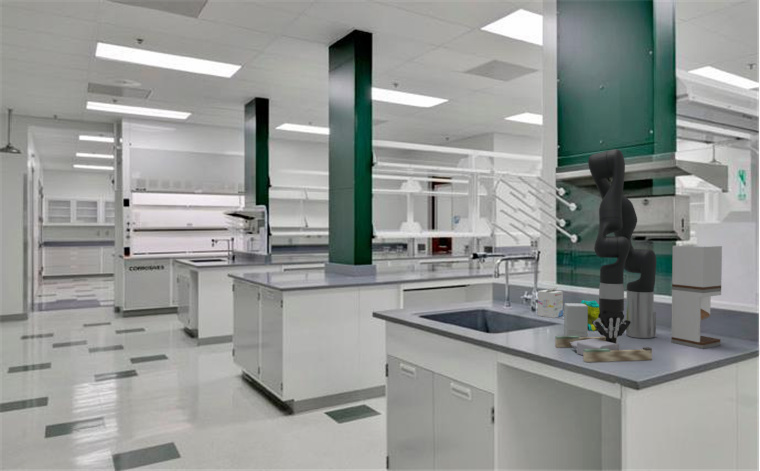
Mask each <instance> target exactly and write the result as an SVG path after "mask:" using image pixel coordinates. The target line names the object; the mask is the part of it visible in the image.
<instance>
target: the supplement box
mask: <svg viewBox="0 0 760 471" xmlns="http://www.w3.org/2000/svg"><path fill="white" fill-rule="evenodd" d="M563 303H564V304H563V306H564V307H563V336H579V337H588V333H589V332H588V331H589V330H588V306H586V305H585V304H580V303H577V302H575V303H574V302H573V303H570V302H566V303H565V302H563Z"/></svg>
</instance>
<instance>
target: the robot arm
mask: <svg viewBox="0 0 760 471" xmlns="http://www.w3.org/2000/svg"><path fill="white" fill-rule="evenodd" d="M625 162H626V161H625V157H624V155H623V152H622V151H621V150H620V149H617V148H615V149H610V150H606V151H603V152H598V153H593V154H591V155H589V157H588V161H587V163H588V168H589V169H588V170H589V172H590V175H591V177H592V179H593V181H594V183H595V185H596V188H597V190H598V192H599V195H600V197H601V202H600V204H599V208H598V213H599V214H598V219H599V225H598V227H599V228H598V234H597V236H596V240H595V243H594V248H593V249H594V253H595V255H596V256H597V257H599V258H603V259H604V258H609V259H610V258H611V259H615V258H616V261H615V262H613V263H609V264H604V265H601V266H600V268H599V269H600V271H599V288H598V304H599V311H600V313H599V315H598V319H596V320H595V321H594V320H593V321H592V324H593V325H594V326H595V328H596V331H597V332H598V333H599V334H600V335H601V336H602V337H606V341H607V342H611V343H616V338H617V339H618V337H621V336H623V335H624V333H625V336H627V337H632V338H636V339H637V338H638V339H651V338H656V336H657V331H656V329H657V312H656V311H655V310H654V306H655V305H654V296H655V295H654V293H655V292H654V291H655V284H656V270H657V257H656V253H655V251H654V250H652V249H647V248H646V249H645V248H634V247H633V243H632V236H633V234H634V232H635V229H636V227H637V224H638V216H637V213H636V210H635V207H634V204H633V203H632V201H631V200H630V199H629V198H628V197H627V196H625V195H624V194H623V191H624V184H625V183H624V182H625V173H626V172H625V171H626V163H625ZM607 178H612V181H611V183H610V182H609V180H608V179H607ZM609 234H614V236H608V235H609ZM624 270H625V271H626V272H627V273H635V274H640V276H639V278H638V279H636V280H634V281H630V282H627V284H626V302H625V287H624ZM624 302H625V303H626V307H625V303H624ZM625 308H626V310H625ZM624 311H625V312H626V313H625V314H624ZM625 316H626V317H625ZM601 322H602V324H601ZM602 325H603V326H602Z"/></svg>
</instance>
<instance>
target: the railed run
mask: <svg viewBox="0 0 760 471" xmlns="http://www.w3.org/2000/svg"><path fill="white" fill-rule="evenodd" d="M593 338H594V339H599V340H603V341H606V337H605V336H587V337H579V336H564V335H558V336H555V338H554V340H555V341H554V342H555V344H554V346H555V348H558V349H559V348H561V349H562V348H573V347H572V346H571V343H570V342H572V343H573V342H574V341H579V340H586V339H593ZM617 339H618V337H617V338H616V344H618V343H617V342H618V341H617ZM652 352H653V348H651V347H648V346H647V347H642V349H641V348H640V349H619V350H610V349H584V352H583V355H582V357H583V362H585V363H596V362H597V363H600V362H603V363H604V362H627V361H628V362H629V361H652V359H653V357H652V356H653V355H652V354H653V353H652Z"/></svg>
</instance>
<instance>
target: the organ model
mask: <svg viewBox="0 0 760 471" xmlns="http://www.w3.org/2000/svg"><path fill="white" fill-rule="evenodd" d="M579 304H585V305H586V306H588V331H590V332H595V331H597V329H596V328H595V326H594V325H593V324H592V321H593V320H594V321H595V320H596V319H598V315H599V313H600V311H599V302H597V300H595V299H594V300H584V299H582V300H581V302H580V303H579ZM601 324H602V322H601ZM602 325H603V324H602Z"/></svg>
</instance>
